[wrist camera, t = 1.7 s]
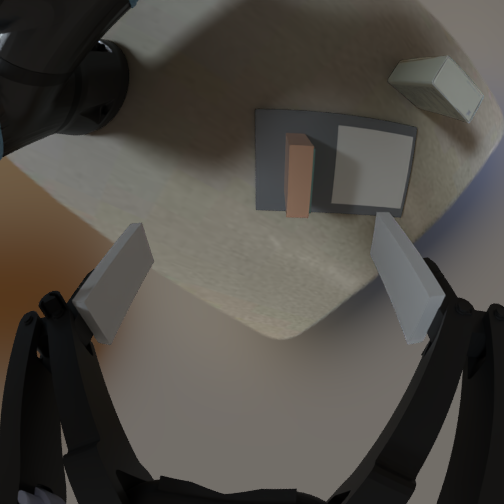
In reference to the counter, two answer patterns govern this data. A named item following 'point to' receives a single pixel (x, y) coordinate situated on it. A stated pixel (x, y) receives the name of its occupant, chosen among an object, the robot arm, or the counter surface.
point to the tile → (298, 175)
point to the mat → (337, 161)
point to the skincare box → (437, 86)
